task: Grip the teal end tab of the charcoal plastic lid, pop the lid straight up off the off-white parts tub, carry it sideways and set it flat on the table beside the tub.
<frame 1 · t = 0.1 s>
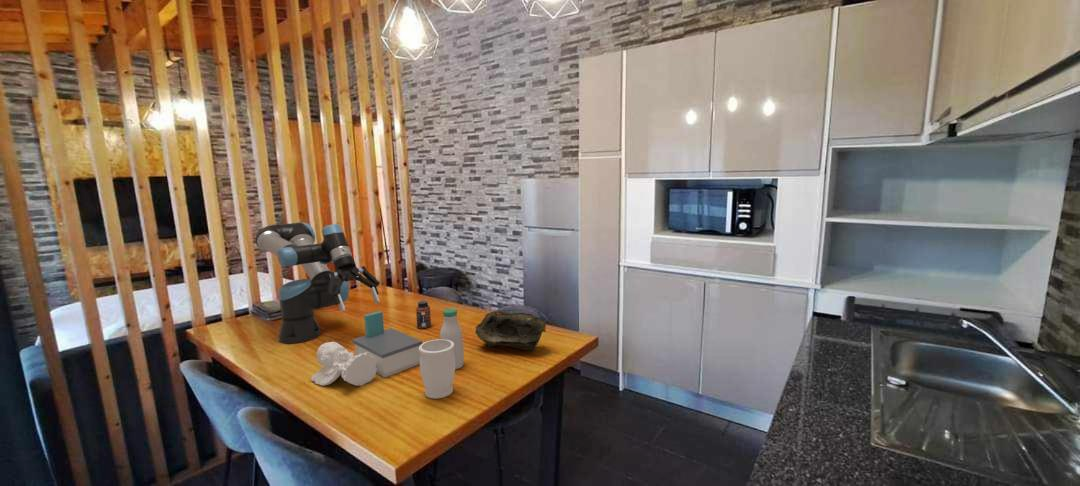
hand: (361, 306, 166), 15 cm above the table, tool tilted 35°, fingers open, 13 cm apart
steel nut: (377, 358, 153), point 1 cm above the table, touching tub
hollow geode rock: (512, 349, 163), on the table
lid: (387, 343, 151), point 7 cm above the table, touching tub
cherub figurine: (343, 380, 139), on the table
tub: (388, 362, 152), on the table
milk bottle: (452, 366, 148), on the table
jar: (439, 392, 130), on the table
supplement bottle: (424, 327, 188), on the table
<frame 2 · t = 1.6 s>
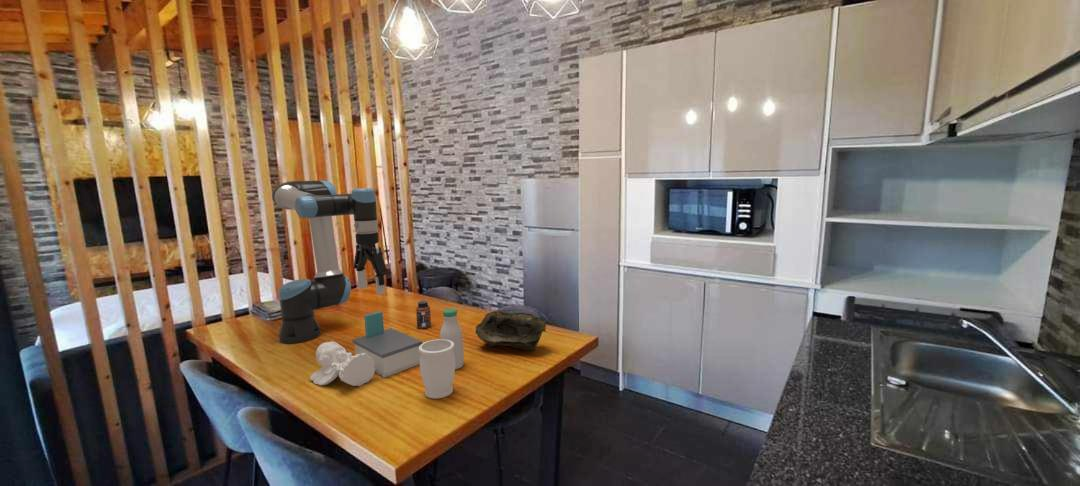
hand: (371, 291, 154), 25 cm above the table, tool pointing down, fingers open, 13 cm apart
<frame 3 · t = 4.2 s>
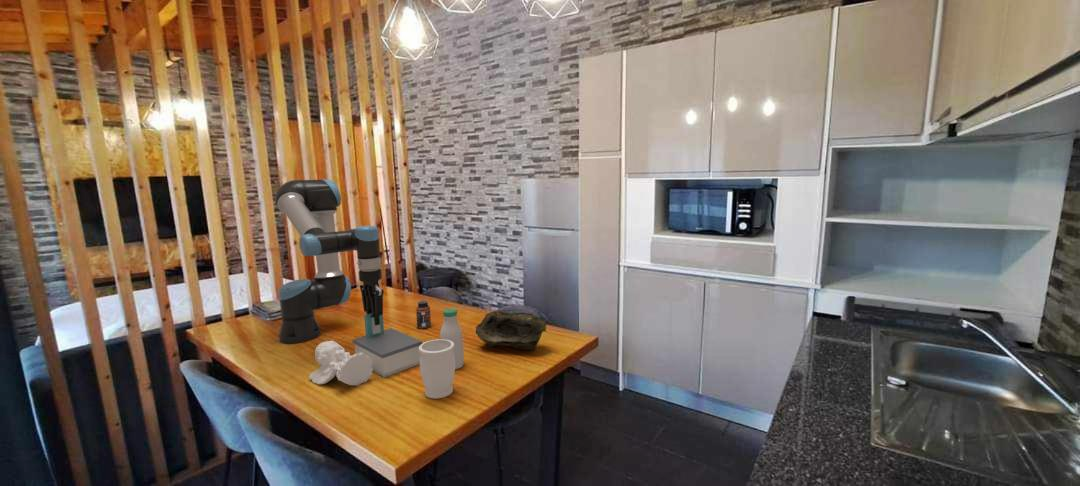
hand: (374, 332, 156), 9 cm above the table, tool pointing down, fingers closed on lid, 2 cm apart
lid: (387, 343, 151), point 7 cm above the table, touching gripper, tub
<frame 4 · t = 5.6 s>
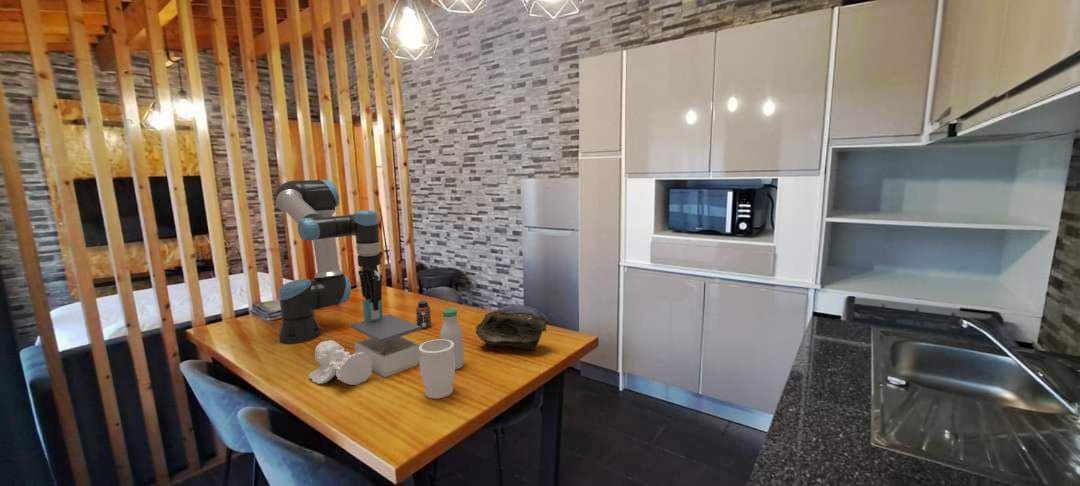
hand: (373, 317, 155), 15 cm above the table, tool pointing down, fingers closed on lid, 2 cm apart
lid: (385, 328, 150), point 12 cm above the table, touching gripper
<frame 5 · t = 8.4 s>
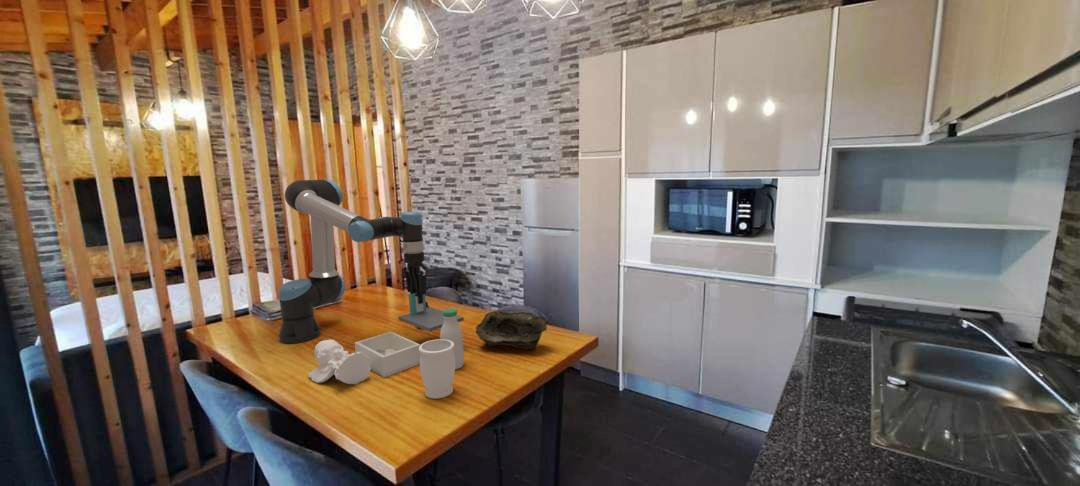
hand: (418, 310, 169), 13 cm above the table, tool pointing down, fingers closed on lid, 2 cm apart
lid: (430, 320, 163), point 11 cm above the table, touching gripper
when the fingers open (5 cm above the table, at t = 9.9 s): lid drops 2 cm, on the table.
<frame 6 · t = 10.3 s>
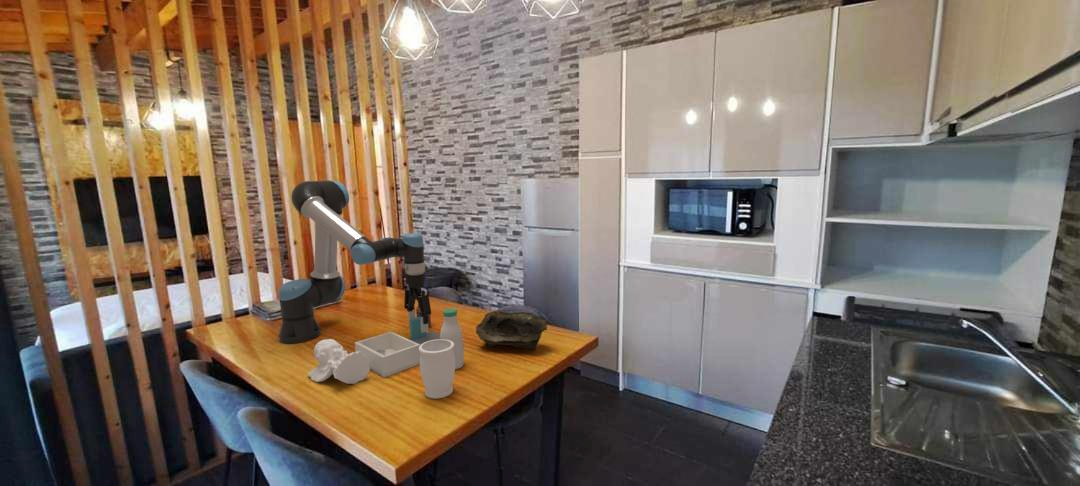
hand: (418, 329, 170), 5 cm above the table, tool pointing down, fingers open, 8 cm apart
lid: (431, 345, 165), on the table
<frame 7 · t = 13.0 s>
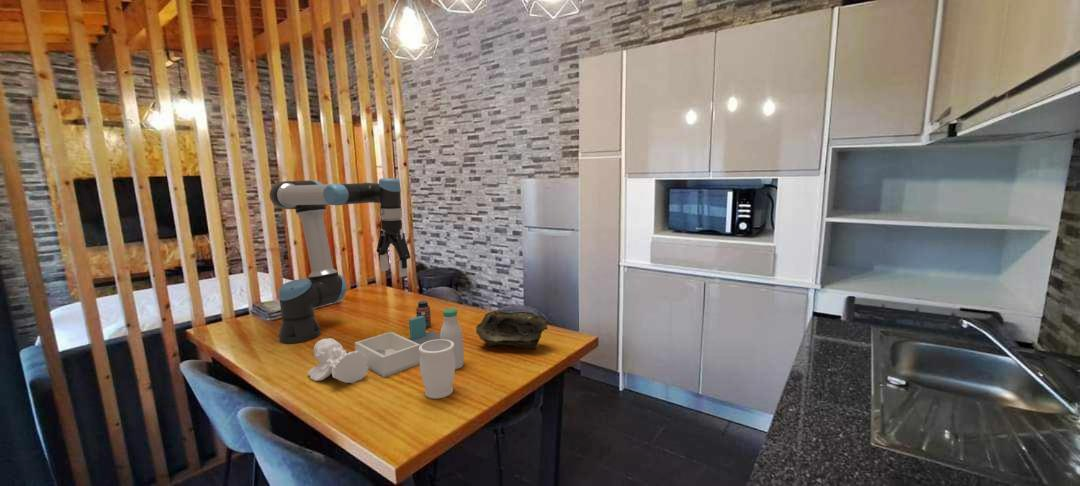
hand: (393, 273, 166), 28 cm above the table, tool pointing down, fingers open, 13 cm apart
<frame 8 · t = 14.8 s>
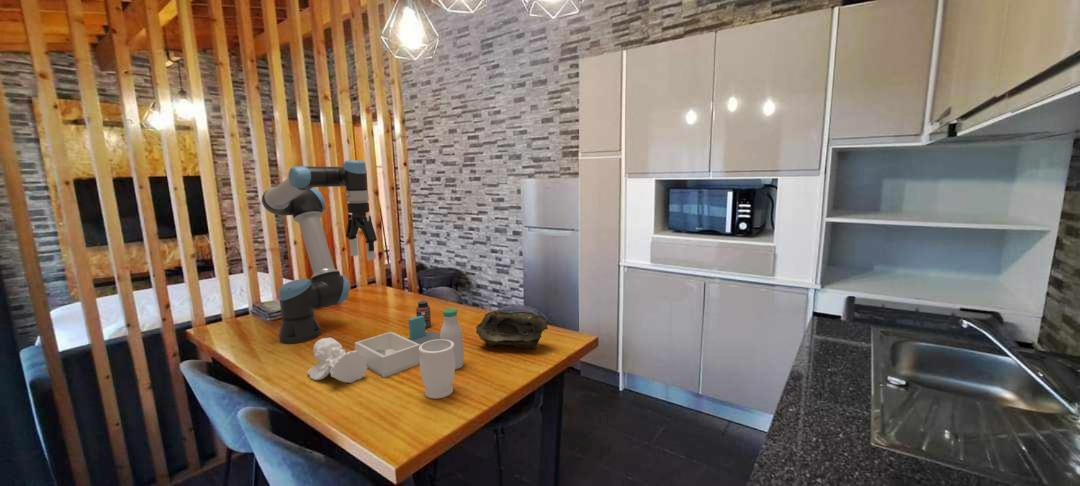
hand: (362, 257, 164), 35 cm above the table, tool pointing down, fingers open, 13 cm apart
at the end: lid inside the target area (1.0 cm from its centre), point 0.5 cm above the table; lid tilted 0°; the gripper is holding nothing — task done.
